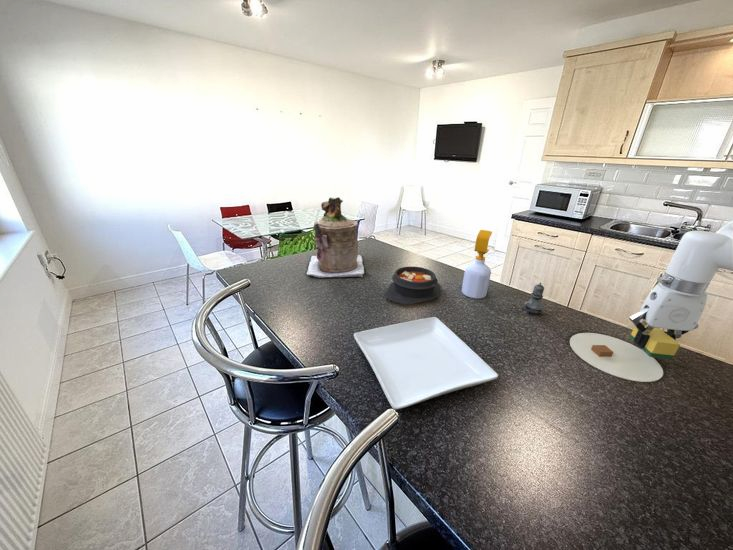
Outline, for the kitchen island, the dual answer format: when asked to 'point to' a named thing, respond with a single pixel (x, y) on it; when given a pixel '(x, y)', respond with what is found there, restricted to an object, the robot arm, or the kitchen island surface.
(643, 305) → the robot arm
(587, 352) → the plate
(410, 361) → the square plate
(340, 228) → the cookie jar
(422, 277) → the casserole
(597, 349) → the block
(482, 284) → the soap bottle
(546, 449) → the kitchen island surface
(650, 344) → the sponge
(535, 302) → the grey chess piece
